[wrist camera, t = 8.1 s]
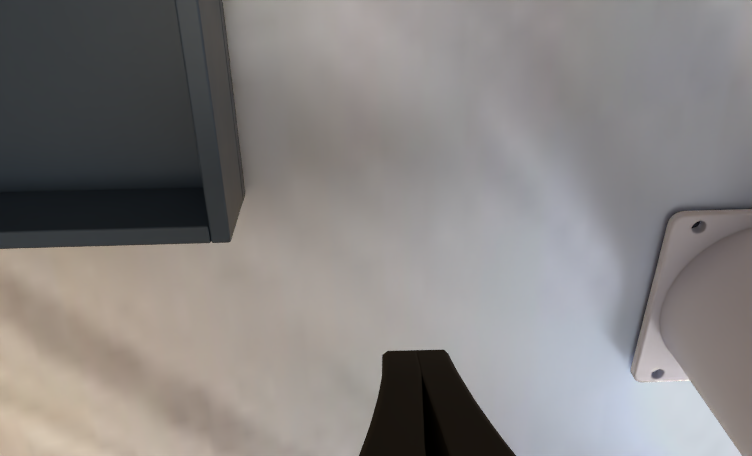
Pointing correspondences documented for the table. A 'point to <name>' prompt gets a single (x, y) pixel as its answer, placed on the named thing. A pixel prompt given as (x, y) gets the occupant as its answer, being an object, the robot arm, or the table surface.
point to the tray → (116, 124)
